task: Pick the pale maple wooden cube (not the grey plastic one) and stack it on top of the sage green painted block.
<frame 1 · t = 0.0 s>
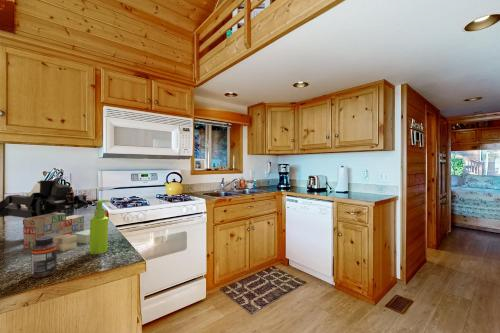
hand: (76, 205, 98), 17 cm above the counter, tool horizontal, fingers open, 9 cm apart
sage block: (89, 240, 104), on the counter
maple cube: (65, 248, 93), on the counter
soap dispenser: (99, 251, 91), on the counter
stack of blocks: (56, 241, 102), on the counter
grey cube: (51, 247, 94), on the counter
supplement bottle: (44, 274, 71), on the counter
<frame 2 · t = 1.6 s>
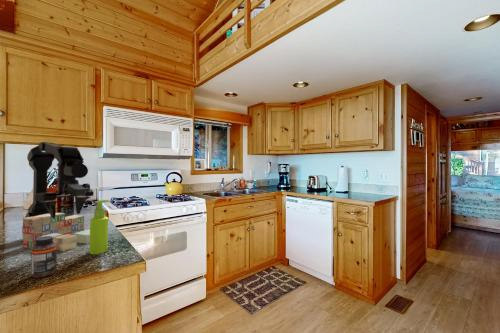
hand: (66, 215, 93), 13 cm above the counter, tool pointing down, fingers open, 9 cm apart
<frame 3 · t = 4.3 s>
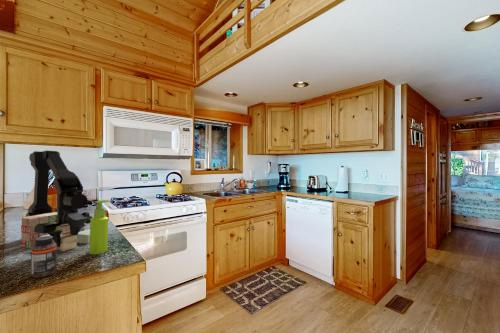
hand: (65, 244, 93), 2 cm above the counter, tool pointing down, fingers closed on maple cube, 5 cm apart
maple cube: (65, 248, 93), on the counter, touching gripper
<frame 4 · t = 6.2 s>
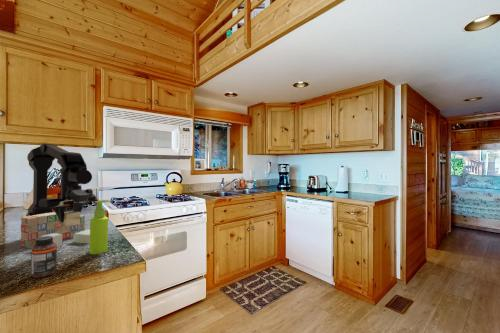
hand: (69, 220, 94), 11 cm above the counter, tool pointing down, fingers closed on maple cube, 5 cm apart
maple cube: (69, 224, 94), point 9 cm above the counter, touching gripper
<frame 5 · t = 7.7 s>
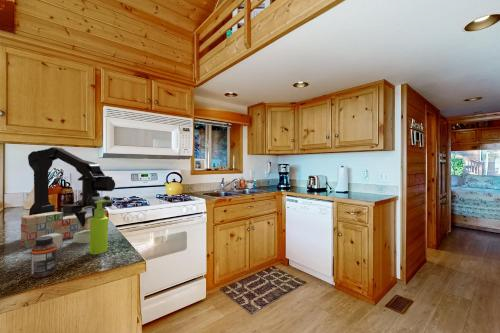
hand: (89, 225, 104), 7 cm above the counter, tool pointing down, fingers closed on maple cube, 5 cm apart
maple cube: (89, 228, 104), point 5 cm above the counter, touching gripper
when the fingers open (6 cm above the counter, at t = 8.5 s): maple cube drops 1 cm, resting on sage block.
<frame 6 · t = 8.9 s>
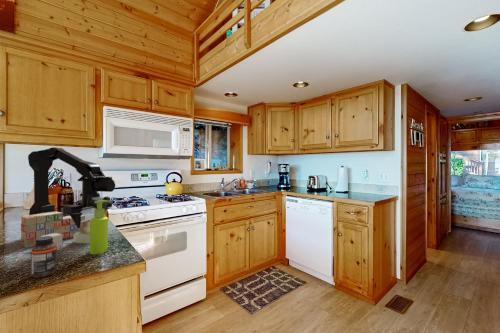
hand: (89, 225, 104), 6 cm above the counter, tool pointing down, fingers open, 9 cm apart
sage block: (89, 240, 104), on the counter, touching maple cube
maple cube: (89, 231, 104), point 4 cm above the counter, touching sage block
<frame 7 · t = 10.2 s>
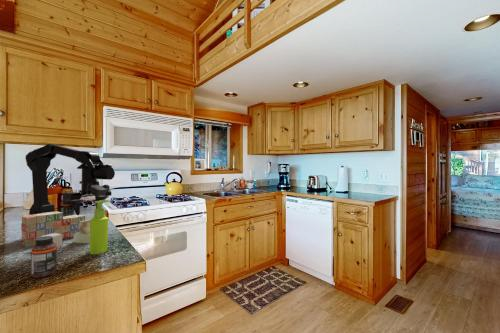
hand: (88, 213, 104), 12 cm above the counter, tool pointing down, fingers open, 9 cm apart
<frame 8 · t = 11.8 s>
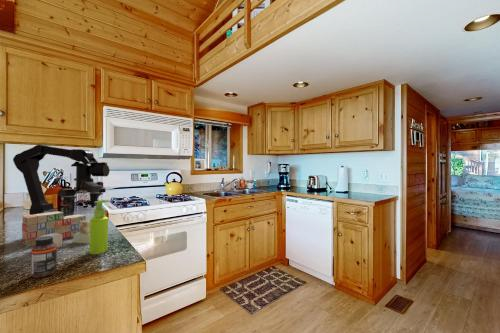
hand: (83, 209, 108), 13 cm above the counter, tool pointing down, fingers open, 9 cm apart
at the end: maple cube 0.3 cm off-centre on the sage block, point 4.0 cm above the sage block's base; maple cube touching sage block; maple cube tilted 0° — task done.
